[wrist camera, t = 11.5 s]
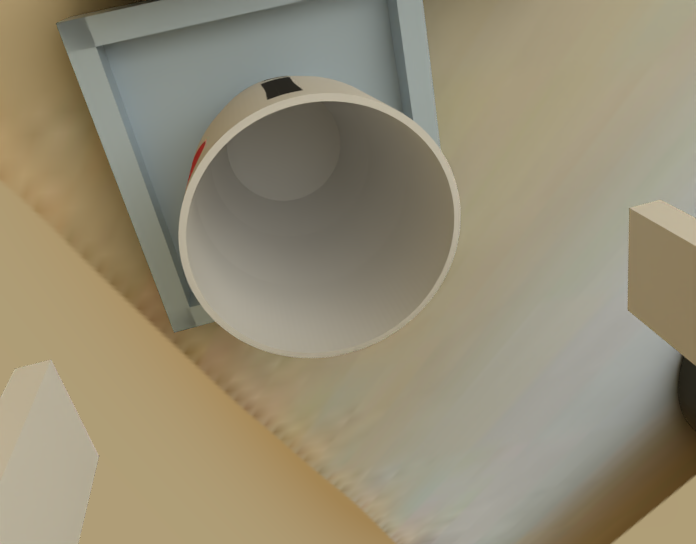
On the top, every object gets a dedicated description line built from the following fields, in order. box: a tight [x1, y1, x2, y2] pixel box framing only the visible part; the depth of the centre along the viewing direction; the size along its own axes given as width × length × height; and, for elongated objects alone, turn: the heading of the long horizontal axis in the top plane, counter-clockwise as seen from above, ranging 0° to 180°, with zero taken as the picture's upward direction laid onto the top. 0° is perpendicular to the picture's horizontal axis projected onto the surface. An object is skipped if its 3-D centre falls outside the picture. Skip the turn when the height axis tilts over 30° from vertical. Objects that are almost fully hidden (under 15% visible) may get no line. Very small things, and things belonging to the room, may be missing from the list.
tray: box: [56, 0, 441, 332], centre depth 27 cm, size 13×13×2 cm
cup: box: [178, 76, 461, 358], centre depth 22 cm, size 8×8×10 cm
